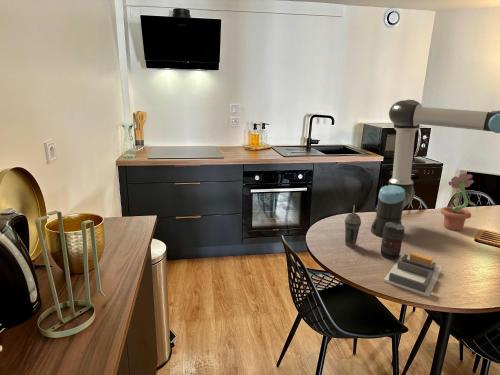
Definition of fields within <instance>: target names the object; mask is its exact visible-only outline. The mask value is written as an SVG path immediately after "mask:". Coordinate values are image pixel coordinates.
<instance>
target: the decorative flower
mask: <svg viewBox="0 0 500 375" xmlns="http://www.w3.org/2000/svg"><path fill="white" fill-rule="evenodd" d="M472 178H473V175H472V174H471V173H469V174H467V173H461V174H459V176H456V175H455V176H453V177H452V178H451V179H450V181H448V186H451V188H452V189H460V191H461V192H458V193H457V194H454V196H453V198H459V197H460V196H461V195H462V199H463V204H462V205H455V206H444V207H442V208H441V209H440V213H441V214H442V215H443V226H444V227H445V229H447V230H452V231H461V230H462V229H463V228H464V225H465V222H466V220H468V219H471V217H472V213H471V212H470V211H469V210H467V209H465V208H467V206H468V205H471V206H472V207H473V206H474V207H476V206H477V205H476V204H475V203H474V202H473V201H469V198H468V195H467V193H466V188H468V187H470V186H471V185H473V183H474V182H475V181H474V179H472Z"/></svg>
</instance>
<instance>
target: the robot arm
mask: <svg viewBox="0 0 500 375" xmlns="http://www.w3.org/2000/svg"><path fill="white" fill-rule="evenodd" d="M388 116H389V119H390V121H391V122H392V123H393V129H394V131H396V133H395V134H396V135H395V144H394V153H393V155H394V156H393V167H392V169H393V170H392V176H391V178H390V179H389V180H388V185H384V186H381V188H380V189H379V193H378V200H377V208H376V209H377V210H376V216H375V218H374V220H373V222H372V223H371V227H370V232H371V233H372V234H373V235H375V236H377V237H380V238H383V231H384V226H385V224H386V223H388V222H393V223H398V224H401V225H403V223H402V216H403V210H404V208H405V207H406V206H407V205H409V204H410V203H411V202H412V201H413V199H414V197H415V189H414V181H413V180H412V167H413V156H414V147H415V138H416V132H417V131H418V130H419V129H420V126H421V125H424V126H434V127H445V128H453V129H454V128H455V129H464V130H465V129H466V130H473V131H474V130H476V131H485V132H493V133H495V134H500V110H492V111H482V110H481V111H480V110H467V109H453V108H440V107H429V106H422V104H421V103H420V102H419V101H417V100H415V99H403V100H398V101H396V102H395V103H393V104H392V105H391V106H390V108H389V112H388Z"/></svg>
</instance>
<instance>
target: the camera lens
mask: <svg viewBox="0 0 500 375" xmlns="http://www.w3.org/2000/svg"><path fill="white" fill-rule="evenodd" d="M405 232H406V231H405V226H404V225H403V224H402V225H401V224H398V223H393V222H388V223H386V224H385V226H384V231H383V237H382V239H381V245H380V254H381V256H382V257H383V258H385V259H389V260H396V259H397V260H398V259H399V258H400V254H401V251H402V249H401V248H402V245H403V240H404V236H405Z"/></svg>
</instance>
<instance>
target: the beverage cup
mask: <svg viewBox="0 0 500 375" xmlns="http://www.w3.org/2000/svg"><path fill="white" fill-rule="evenodd" d="M355 207H356V204H354V205H353V209H352V210H353V211H352V212H351V213H348V214H347V215H346V217H345V219H344V227H345V230H344V231H345V236H344V238H345V239H344V241H345V243H344V244H345V246H346V247H349V248H354V247H356V245H357V240H358V235H359V230H360V227H361V224H362V221H361V219H362V218H361V217H360V215H359V214H357V213H355V209H356V208H355Z"/></svg>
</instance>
